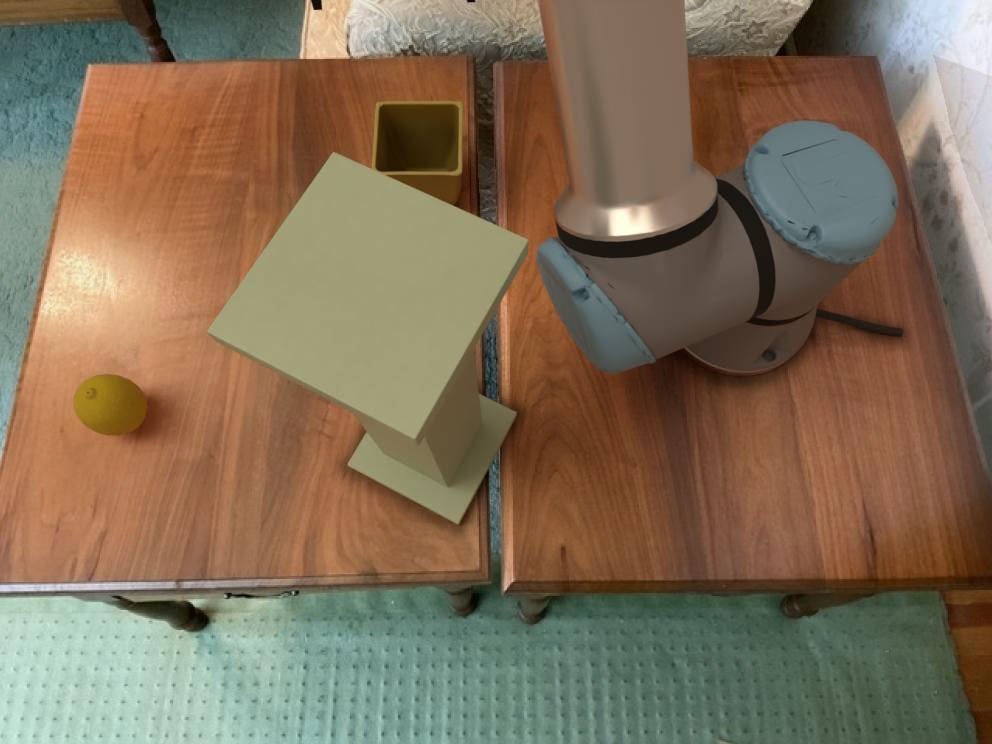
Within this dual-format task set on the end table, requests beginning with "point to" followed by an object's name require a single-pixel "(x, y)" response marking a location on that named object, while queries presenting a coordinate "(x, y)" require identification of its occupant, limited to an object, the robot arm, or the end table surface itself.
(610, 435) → the end table surface
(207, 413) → the end table surface
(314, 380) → the plant stand
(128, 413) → the lemon
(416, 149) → the flower pot
